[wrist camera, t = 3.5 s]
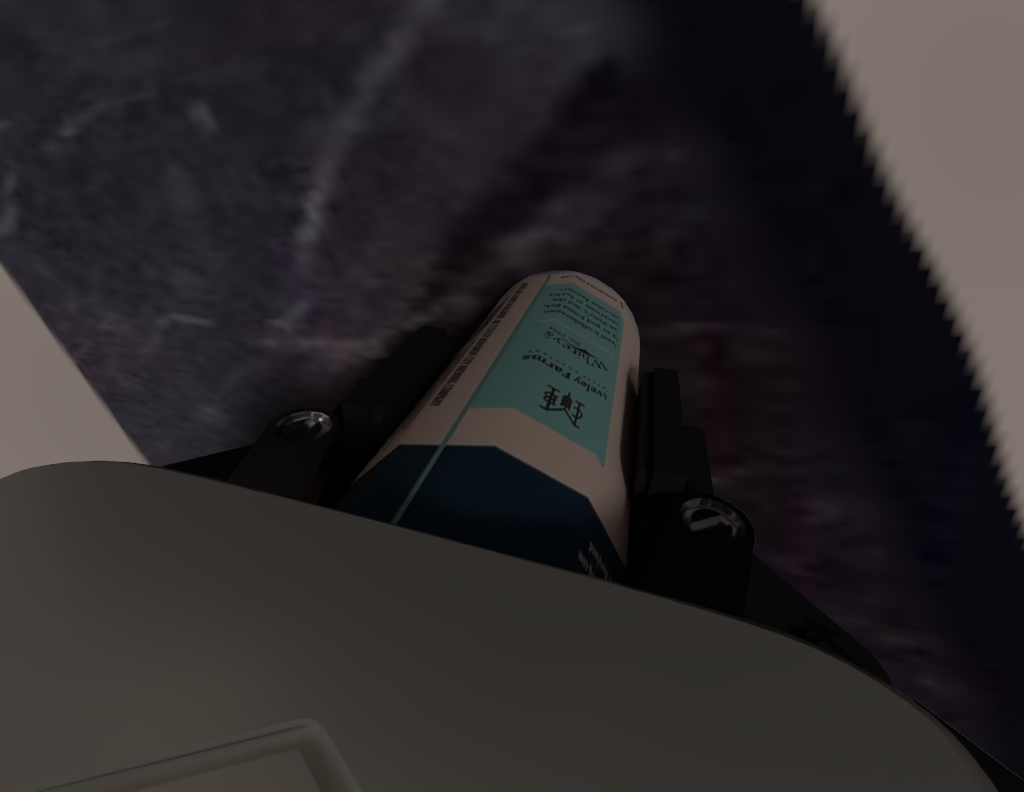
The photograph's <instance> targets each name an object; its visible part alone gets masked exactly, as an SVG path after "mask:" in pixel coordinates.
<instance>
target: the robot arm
mask: <svg viewBox="0 0 1024 792" xmlns="http://www.w3.org/2000/svg"><path fill="white" fill-rule="evenodd" d="M452 359H453V338H452V336H450V335H447V332H446V330H445V329H442V328H436V327H431V326H425V325H424V326H422V327H421V328H420V329H419V330H418V331H417V332H415V333H414V334H413V335H412V336H411V337H410V338H409V339H408V340H407V341H406V342H405V343H404V344H403V345H401V346H400V347H399V348H398V349H397V350H396V351H395V352H394V353H393V354H392V355H391V356H390V357H389V358H387V359H386V360H385V361H384V362H383V363H382V364H381V365H380V366H379V367H378V368H377V369H376V370H375V371H373V372H372V373H371V374H370V375H369V376H368V377H367V378H366V379H365V380H364V381H363V382H362V383H361V384H359V385H358V386H357V387H356V388H355V389H354V390H353V391H352V392H351V393H350V394H349V395H348V396H347V397H345V398H344V399H343V400H342V401H341V404H340V405H339V406H337V407H336V408H335V409H334V410H333V411H332V412H331V411H328V410H326V409H321V408H301V409H296V410H292V411H289V412H286V413H283V414H281V415H280V416H278V417H276V418H274V419H273V420H272V421H271V422H270V423H269V424H268V425H267V427H266V428H265V429H264V431H263V432H262V433H261V435H260V436H259V438H258V439H257V440H256V442H255V443H254V444H253V445H250V446H245V447H241V448H237V449H233V450H228V451H224V452H220V453H216V454H211V455H207V456H203V457H199V458H194V459H190V460H186V461H182V462H178V463H173V464H169V465H165V466H161V467H160V466H153V465H146V464H138V463H130V462H113V461H84V462H66V463H58V464H51V465H45V466H39V467H33V468H29V469H26V470H22V471H19V472H17V473H14V474H11V475H9V476H7V477H4V478H2V479H0V792H1024V781H1023V780H1022V779H1021V778H1019V777H1018V776H1017V775H1015V774H1014V773H1013V772H1011V771H1010V770H1009V769H1007V768H1006V767H1005V766H1003V765H1002V764H1001V763H999V762H998V761H997V760H995V759H994V758H993V757H991V756H990V755H989V754H987V753H986V752H985V751H983V750H982V749H981V748H979V747H978V746H977V745H975V744H974V743H973V742H971V741H970V740H969V739H967V738H966V737H965V736H963V735H962V734H961V733H959V732H958V731H957V730H955V729H954V728H953V727H951V726H950V725H949V724H947V723H946V722H945V721H943V720H942V719H941V718H939V717H938V716H937V715H935V714H934V713H933V712H931V711H930V710H929V709H927V708H926V707H925V706H923V705H922V704H921V703H919V702H918V701H917V700H914V701H913V700H912V699H910V698H909V697H907V696H906V695H904V694H903V693H901V692H900V691H898V690H897V689H895V688H894V687H893V686H892V684H891V682H890V679H889V677H888V675H887V673H886V672H885V670H884V669H883V668H882V666H881V665H880V663H879V662H878V661H877V659H876V658H875V657H874V656H873V655H872V654H871V653H870V652H869V651H867V650H866V649H865V648H864V647H863V646H862V645H861V644H860V643H859V642H858V641H856V640H855V639H854V638H853V637H852V636H850V635H849V634H848V633H847V632H846V631H844V630H843V629H842V628H841V627H840V626H838V625H837V624H836V623H835V622H834V621H832V620H831V619H830V618H829V617H828V616H826V615H825V614H824V613H823V612H822V611H820V610H819V609H818V608H817V607H816V606H814V605H813V604H812V603H811V602H810V601H809V600H807V599H806V598H805V597H804V596H803V595H801V594H800V593H799V592H798V591H797V590H795V589H794V588H793V587H792V586H791V585H789V584H788V583H787V582H786V581H785V580H783V579H782V578H781V577H780V576H779V575H777V574H776V573H775V572H774V571H773V570H771V569H770V568H769V567H768V566H767V565H765V564H764V563H763V562H762V561H761V560H760V559H758V558H757V557H756V556H755V555H754V554H753V551H754V544H755V529H754V527H753V525H752V523H751V521H750V519H749V518H748V517H747V516H746V515H745V514H744V513H743V512H742V511H741V510H740V509H739V508H737V507H736V506H734V505H733V504H732V503H730V502H728V501H726V500H724V499H722V498H720V497H717V496H714V493H713V486H712V480H711V474H710V467H709V461H708V454H707V448H706V441H705V435H704V431H703V430H702V429H699V428H694V427H689V426H684V425H683V421H682V410H681V399H680V388H679V377H678V371H675V370H669V369H664V368H658V367H654V368H653V371H652V372H647V371H644V373H643V376H642V380H641V384H640V388H639V392H638V396H637V401H636V417H635V433H634V449H633V466H632V482H631V498H630V518H629V535H628V551H627V568H626V585H622V584H618V583H615V582H611V581H607V580H603V579H600V578H596V577H592V576H588V575H585V574H581V573H577V572H573V571H570V570H566V569H562V568H558V567H555V566H551V565H547V564H543V563H540V562H536V561H532V560H528V559H525V558H521V557H517V556H513V555H510V554H506V553H502V552H498V551H494V550H491V549H487V548H483V547H479V546H475V545H471V544H468V543H464V542H460V541H456V540H452V539H449V538H445V537H441V536H437V535H433V534H429V533H426V532H422V531H418V530H414V529H410V528H406V527H402V526H399V525H395V524H391V523H387V522H383V521H379V520H375V519H372V518H368V517H364V516H360V515H356V514H352V513H348V512H344V511H340V510H336V509H332V507H333V506H334V505H335V504H336V502H337V501H338V500H339V499H340V497H341V496H342V495H343V494H344V492H345V491H346V490H347V489H348V488H349V486H350V485H351V484H352V483H353V481H354V480H355V479H356V478H357V476H358V475H359V474H360V473H361V472H362V470H363V469H364V468H365V467H366V465H367V464H368V463H369V462H370V460H371V459H372V458H373V457H374V456H375V454H376V453H377V452H378V451H379V449H380V448H381V447H382V446H383V444H384V443H385V442H386V441H387V440H388V438H389V437H390V436H391V435H392V433H393V432H394V431H395V430H396V428H397V427H398V426H399V425H400V424H401V422H402V421H403V420H404V419H405V417H406V416H407V415H408V414H409V412H410V411H411V410H412V409H413V407H414V406H415V405H416V404H417V403H418V401H419V400H420V399H421V398H422V396H423V395H424V394H425V393H426V391H427V390H428V389H429V388H430V387H431V385H432V384H433V383H434V382H435V380H436V379H437V378H438V377H439V375H440V374H441V373H442V372H443V371H444V369H445V368H446V367H447V366H448V364H449V363H450V362H451V361H452Z"/></svg>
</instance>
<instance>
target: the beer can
mask: <svg viewBox="0 0 1024 792" xmlns="http://www.w3.org/2000/svg"><path fill="white" fill-rule="evenodd" d="M639 351H640V340H639V332H638V328H637V325H636V322H635V320H634V317H633V314H632V313H631V311H630V309H629V308H628V306H627V305H626V303H625V302H624V300H623V299H622V298H621V297H620V296H619V295H618V294H617V293H616V292H615V291H614V290H613V289H611V288H610V287H608V286H607V285H605V284H604V283H602V282H601V281H599V280H598V279H596V278H593V277H591V276H589V275H585V274H581V273H578V272H574V271H548V272H543V273H538V274H534V275H531V276H529V277H526V278H524V279H523V280H521V281H519V282H518V283H516V284H515V285H513V286H512V287H511V288H510V289H509V290H508V291H507V292H506V294H505V295H504V296H503V297H502V298H501V299H500V300H499V302H498V303H497V305H496V306H495V308H494V309H493V310H492V311H491V313H490V314H489V315H488V316H487V318H486V319H485V320H484V321H483V323H482V324H481V325H480V326H479V327H478V329H477V330H476V331H475V332H474V334H473V335H472V336H471V337H470V339H469V340H468V341H467V342H466V343H465V345H464V346H463V347H462V348H461V350H460V351H459V352H458V353H457V355H456V356H455V357H454V358H453V359H452V361H451V362H450V363H449V364H448V366H447V367H446V368H445V369H444V371H443V372H442V373H441V374H440V375H439V377H438V378H437V379H436V380H435V382H434V383H433V384H432V385H431V387H430V388H429V389H428V390H427V391H426V393H425V394H424V395H423V396H422V398H421V399H420V400H419V401H418V403H417V404H416V405H415V406H414V407H413V409H412V410H411V411H410V412H409V414H408V415H407V416H406V417H405V419H404V420H403V421H402V422H401V424H400V425H399V426H398V427H397V428H396V430H395V431H394V432H393V433H392V435H391V436H390V437H389V438H388V440H387V441H386V442H385V443H384V444H383V446H382V447H381V448H380V449H379V451H378V452H377V453H376V454H375V456H374V457H373V458H372V459H371V460H370V462H369V463H368V464H367V465H366V467H365V468H364V469H363V470H362V472H361V473H360V474H359V475H358V476H357V478H356V479H355V480H354V481H353V483H352V484H351V485H350V486H349V488H348V489H347V490H346V491H345V492H344V494H343V495H342V496H341V497H340V499H339V500H338V501H337V502H336V504H335V505H334V506H333V507H332V509H336V510H340V511H344V512H348V513H352V514H356V515H360V516H364V517H368V518H372V519H375V520H379V521H383V522H387V523H391V524H395V525H399V526H402V527H406V528H410V529H414V530H418V531H422V532H426V533H429V534H433V535H437V536H441V537H445V538H449V539H452V540H456V541H460V542H464V543H468V544H471V545H475V546H479V547H483V548H487V549H491V550H494V551H498V552H502V553H506V554H510V555H513V556H517V557H521V558H525V559H528V560H532V561H536V562H540V563H543V564H547V565H551V566H555V567H558V568H562V569H566V570H570V571H573V572H577V573H581V574H585V575H588V576H592V577H596V578H600V579H603V580H607V581H611V582H615V583H618V584H622V585H626V568H627V551H628V535H629V518H630V498H631V482H632V466H633V449H634V433H635V417H636V401H637V385H638V368H639Z"/></svg>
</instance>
